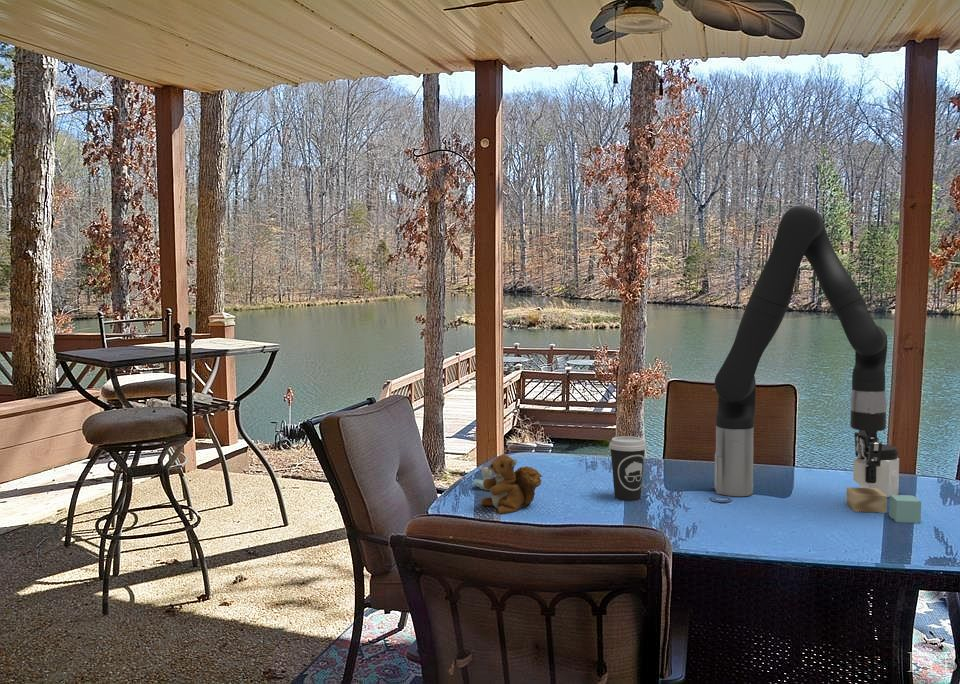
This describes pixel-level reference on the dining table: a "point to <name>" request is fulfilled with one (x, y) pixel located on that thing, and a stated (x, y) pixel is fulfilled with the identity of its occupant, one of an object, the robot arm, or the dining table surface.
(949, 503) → the dining table surface
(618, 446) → the coffee cup
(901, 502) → the teal cube
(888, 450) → the jar
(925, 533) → the dining table surface
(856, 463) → the cream cube
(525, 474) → the stuffed squirrel
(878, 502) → the base block
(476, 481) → the pacifier
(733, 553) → the dining table surface
